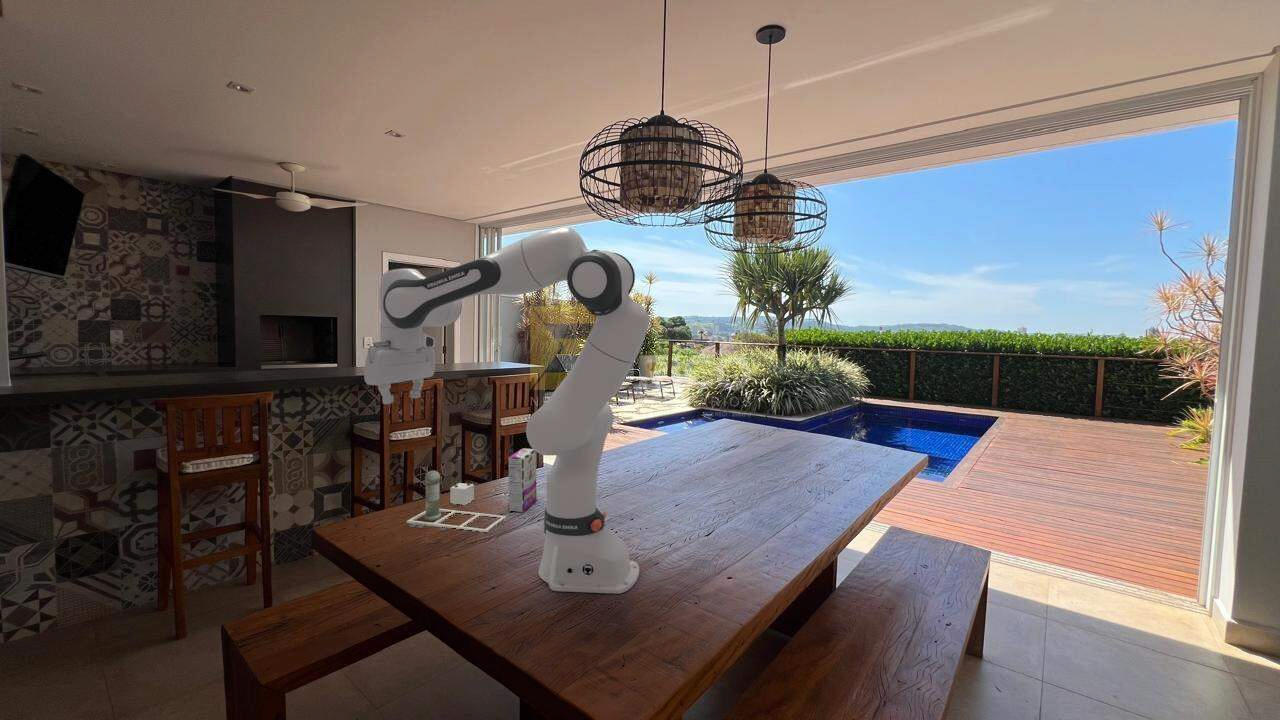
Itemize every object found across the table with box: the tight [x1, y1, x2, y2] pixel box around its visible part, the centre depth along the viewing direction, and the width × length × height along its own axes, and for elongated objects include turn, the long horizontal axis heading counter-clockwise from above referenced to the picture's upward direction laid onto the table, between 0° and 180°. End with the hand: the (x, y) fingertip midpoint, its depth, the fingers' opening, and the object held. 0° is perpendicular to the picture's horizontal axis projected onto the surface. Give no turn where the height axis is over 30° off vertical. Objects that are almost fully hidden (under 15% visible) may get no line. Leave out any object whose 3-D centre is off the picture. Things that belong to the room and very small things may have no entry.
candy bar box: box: [507, 447, 537, 513], centre depth 163 cm, size 11×5×16 cm, turn 171°
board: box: [406, 508, 507, 533], centre depth 149 cm, size 24×13×1 cm, turn 77°
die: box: [449, 482, 475, 506], centre depth 166 cm, size 5×5×6 cm
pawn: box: [423, 469, 442, 522], centre depth 152 cm, size 4×4×14 cm
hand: (402, 400), depth 124 cm, fingers open, 8 cm apart
